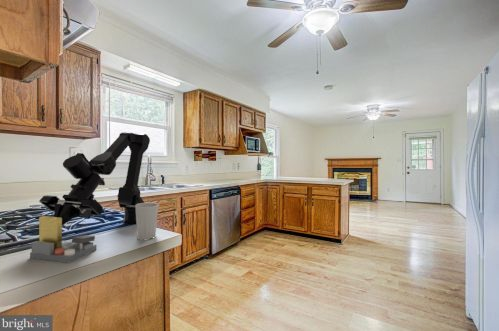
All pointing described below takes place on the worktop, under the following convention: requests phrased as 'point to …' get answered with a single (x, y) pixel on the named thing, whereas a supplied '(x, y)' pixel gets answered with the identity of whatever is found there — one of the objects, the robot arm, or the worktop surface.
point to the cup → (146, 220)
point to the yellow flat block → (51, 230)
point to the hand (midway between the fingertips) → (54, 229)
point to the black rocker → (83, 239)
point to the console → (61, 251)
